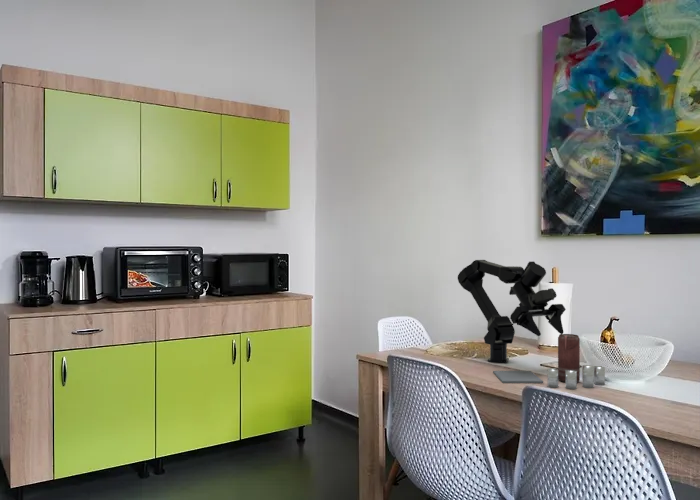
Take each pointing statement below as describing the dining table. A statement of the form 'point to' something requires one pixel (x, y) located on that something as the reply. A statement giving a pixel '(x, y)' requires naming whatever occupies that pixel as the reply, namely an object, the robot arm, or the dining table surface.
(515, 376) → the mat
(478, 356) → the dining table surface
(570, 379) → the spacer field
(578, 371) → the can
